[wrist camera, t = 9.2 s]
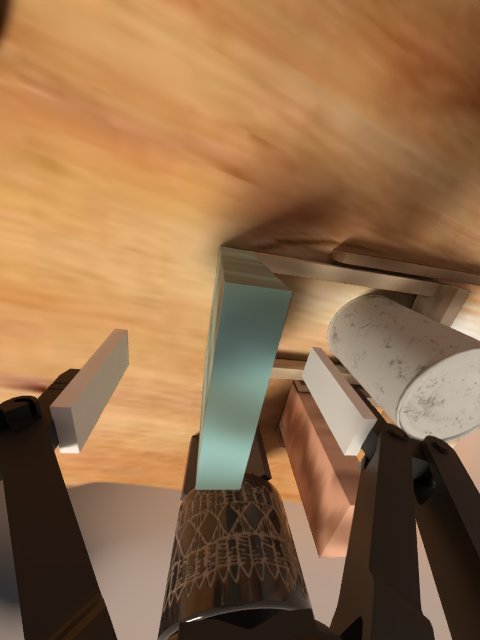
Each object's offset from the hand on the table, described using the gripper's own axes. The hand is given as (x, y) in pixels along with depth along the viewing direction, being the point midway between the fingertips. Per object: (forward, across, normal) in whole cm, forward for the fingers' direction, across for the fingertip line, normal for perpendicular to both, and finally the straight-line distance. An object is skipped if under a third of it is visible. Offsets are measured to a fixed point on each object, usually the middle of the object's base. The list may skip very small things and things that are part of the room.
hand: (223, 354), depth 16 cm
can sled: (+10, +12, -1) cm, 16 cm away
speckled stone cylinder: (+10, +18, -1) cm, 21 cm away
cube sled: (+9, +24, -14) cm, 29 cm away
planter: (+10, +4, -22) cm, 25 cm away
